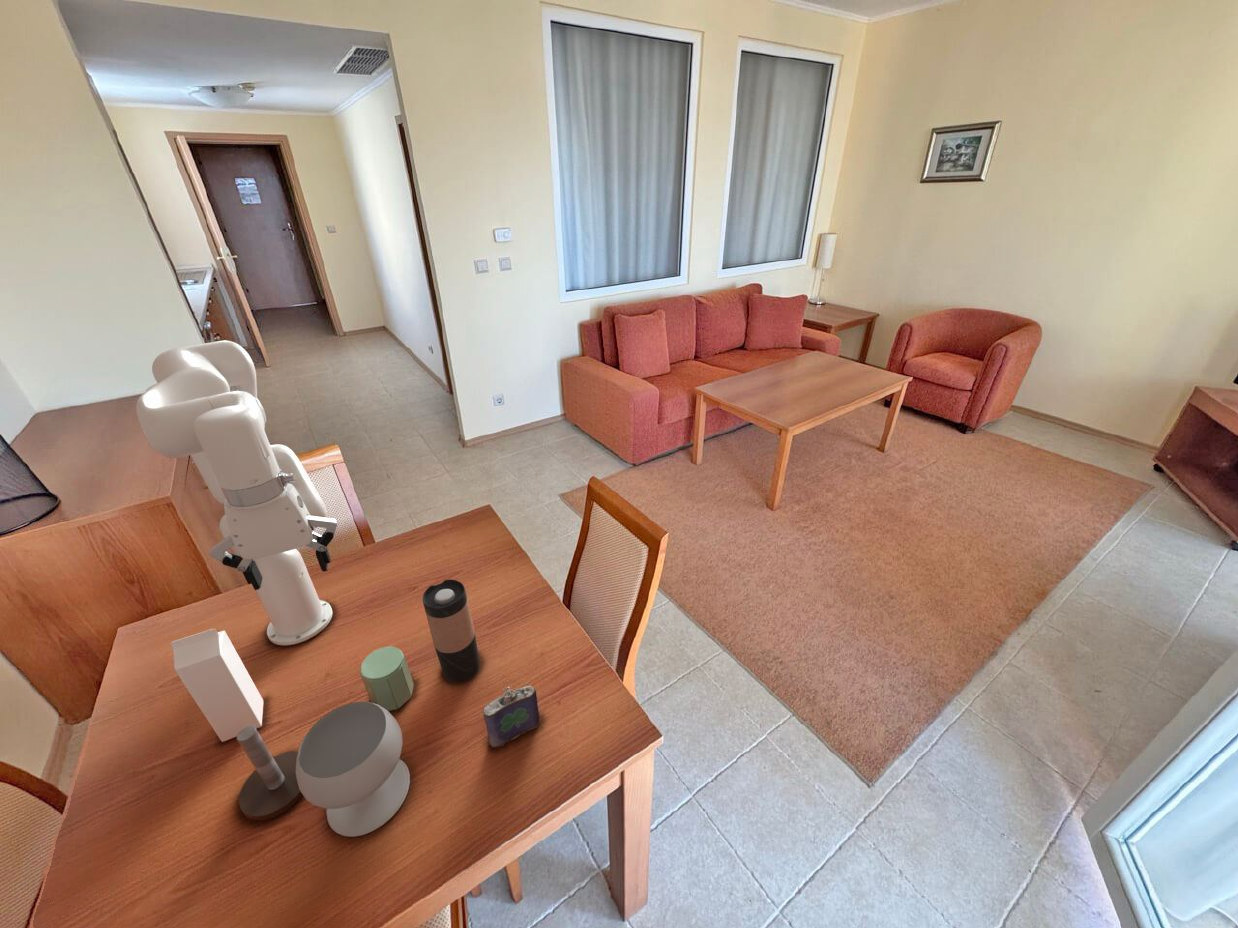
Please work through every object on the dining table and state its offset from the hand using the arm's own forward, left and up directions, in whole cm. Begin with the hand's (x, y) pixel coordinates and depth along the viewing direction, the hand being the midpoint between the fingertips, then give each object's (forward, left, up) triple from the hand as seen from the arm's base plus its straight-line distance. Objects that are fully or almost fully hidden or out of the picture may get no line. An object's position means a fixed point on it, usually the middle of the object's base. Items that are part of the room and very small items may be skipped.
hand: (292, 575), depth 83 cm
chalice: (+24, +4, -28) cm, 38 cm away
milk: (0, -16, -28) cm, 33 cm away
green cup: (+6, +9, -28) cm, 30 cm away
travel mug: (+6, +22, -28) cm, 36 cm away
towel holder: (+16, -9, -28) cm, 34 cm away
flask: (+24, +28, -28) cm, 47 cm away
